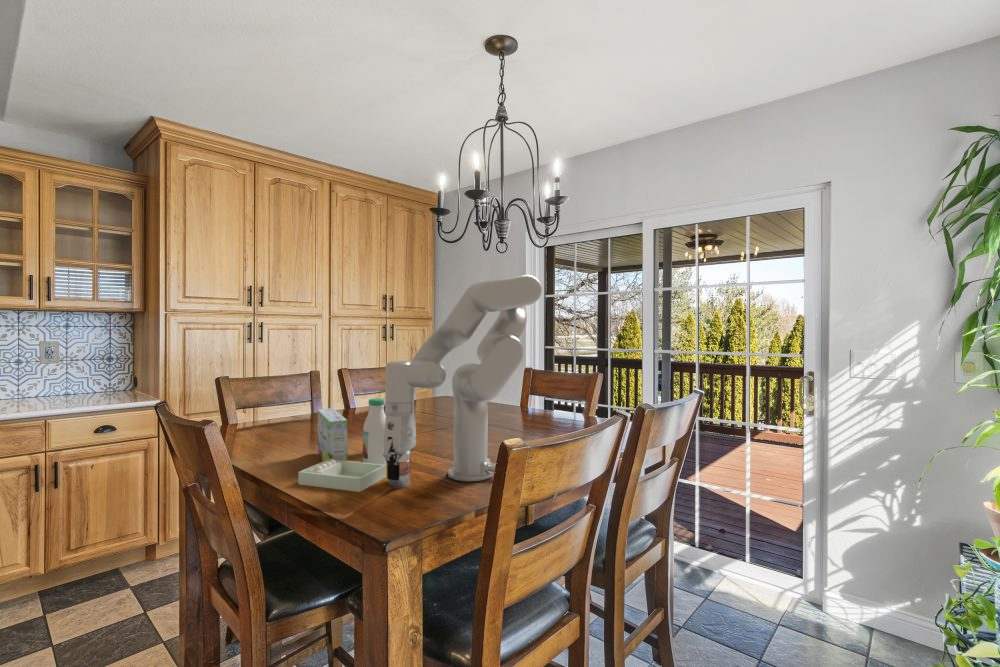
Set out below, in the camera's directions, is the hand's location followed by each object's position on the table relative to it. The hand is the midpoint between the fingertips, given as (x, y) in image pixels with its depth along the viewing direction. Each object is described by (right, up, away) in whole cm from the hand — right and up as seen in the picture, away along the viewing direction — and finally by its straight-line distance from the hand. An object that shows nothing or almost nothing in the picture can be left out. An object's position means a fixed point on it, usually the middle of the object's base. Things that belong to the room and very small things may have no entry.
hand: (399, 475), depth 130 cm
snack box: (-25, -2, +20) cm, 32 cm away
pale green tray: (-15, -2, +1) cm, 15 cm away
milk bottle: (-11, -2, +18) cm, 21 cm away
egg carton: (-20, -1, +2) cm, 20 cm away
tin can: (0, -2, 0) cm, 2 cm away
